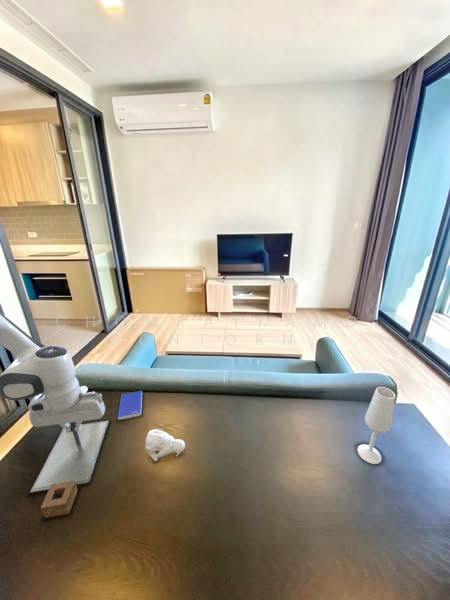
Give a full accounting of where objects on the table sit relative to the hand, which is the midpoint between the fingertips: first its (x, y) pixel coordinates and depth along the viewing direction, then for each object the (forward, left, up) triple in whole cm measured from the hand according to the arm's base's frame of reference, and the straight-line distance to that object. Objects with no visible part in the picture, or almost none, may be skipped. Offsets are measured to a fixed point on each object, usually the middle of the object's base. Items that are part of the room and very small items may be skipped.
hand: (74, 430), depth 80 cm
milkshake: (-4, +18, -7) cm, 20 cm away
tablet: (0, -3, -7) cm, 7 cm away
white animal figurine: (+29, -8, -7) cm, 31 cm away
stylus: (0, 0, -6) cm, 6 cm away
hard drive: (+14, +15, -7) cm, 22 cm away
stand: (+2, -18, -7) cm, 19 cm away
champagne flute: (+92, -20, -7) cm, 94 cm away
